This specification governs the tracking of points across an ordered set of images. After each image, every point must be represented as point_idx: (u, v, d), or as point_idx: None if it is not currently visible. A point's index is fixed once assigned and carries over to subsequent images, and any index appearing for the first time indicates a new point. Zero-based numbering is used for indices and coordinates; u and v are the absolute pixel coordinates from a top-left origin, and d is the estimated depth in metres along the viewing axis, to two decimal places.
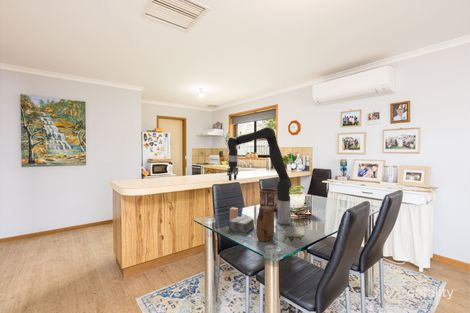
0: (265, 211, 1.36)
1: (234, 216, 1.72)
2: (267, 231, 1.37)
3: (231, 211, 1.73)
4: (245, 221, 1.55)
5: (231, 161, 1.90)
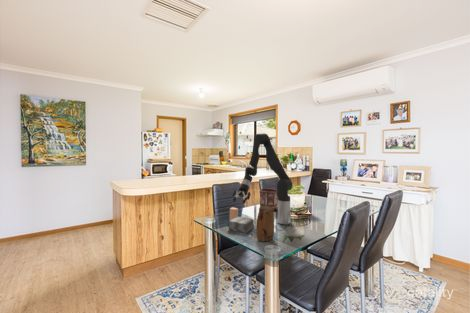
0: (265, 211, 1.36)
1: (234, 216, 1.72)
2: (267, 231, 1.37)
3: (231, 211, 1.73)
4: (245, 221, 1.55)
5: None
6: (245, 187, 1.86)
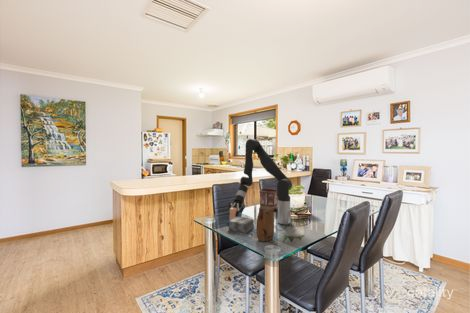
0: (265, 211, 1.36)
1: (234, 216, 1.72)
2: (267, 231, 1.37)
3: (231, 211, 1.73)
4: (245, 221, 1.55)
5: None
6: (240, 199, 1.79)
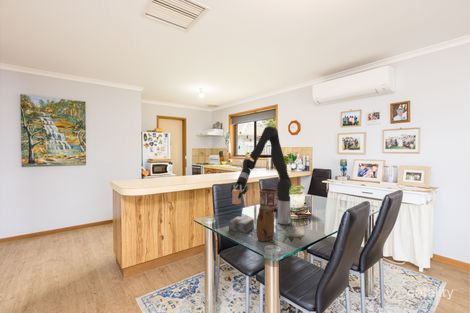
0: (265, 211, 1.36)
1: (237, 198, 1.67)
2: (267, 231, 1.37)
3: (234, 193, 1.68)
4: (245, 221, 1.55)
5: None
6: (243, 180, 1.73)
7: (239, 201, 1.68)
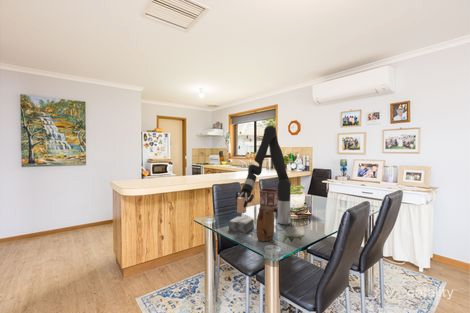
0: (265, 211, 1.36)
1: (242, 206, 1.56)
2: (267, 231, 1.37)
3: (239, 201, 1.57)
4: (245, 221, 1.55)
5: None
6: (248, 188, 1.63)
7: (244, 210, 1.58)
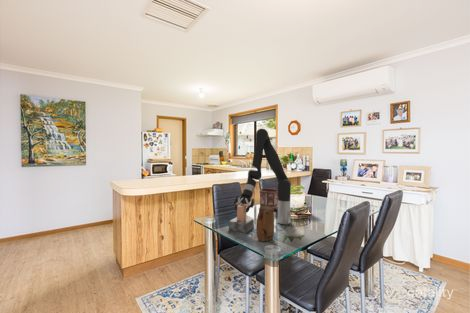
0: (265, 211, 1.36)
1: (242, 214, 1.57)
2: (267, 231, 1.37)
3: (239, 209, 1.58)
4: (245, 221, 1.55)
5: None
6: (248, 193, 1.63)
7: (244, 218, 1.58)
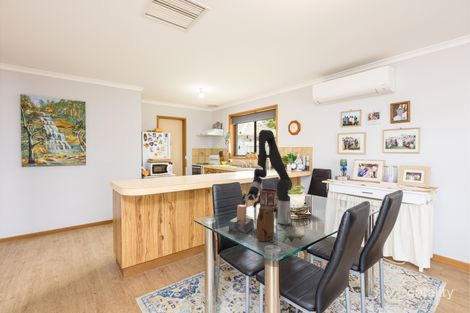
0: (265, 211, 1.36)
1: (242, 214, 1.57)
2: (267, 231, 1.37)
3: (239, 209, 1.58)
4: (245, 221, 1.55)
5: None
6: (255, 190, 1.74)
7: (244, 218, 1.58)
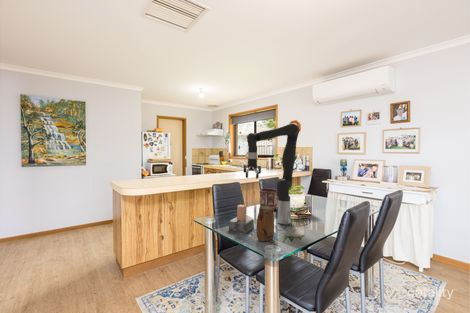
0: (265, 211, 1.36)
1: (242, 214, 1.57)
2: (267, 231, 1.37)
3: (239, 209, 1.58)
4: (245, 221, 1.55)
5: None
6: (253, 162, 1.79)
7: (244, 218, 1.58)
